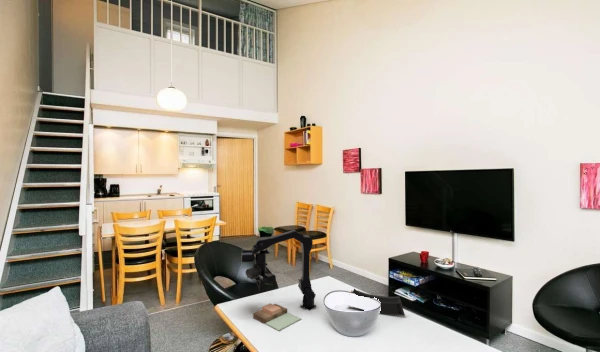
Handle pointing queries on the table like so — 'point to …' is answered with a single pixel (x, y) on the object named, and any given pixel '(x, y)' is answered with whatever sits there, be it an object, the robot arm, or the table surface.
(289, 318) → the green mat
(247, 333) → the table surface
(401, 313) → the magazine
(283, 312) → the walnut stand
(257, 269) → the robot arm
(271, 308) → the terracotta tile
